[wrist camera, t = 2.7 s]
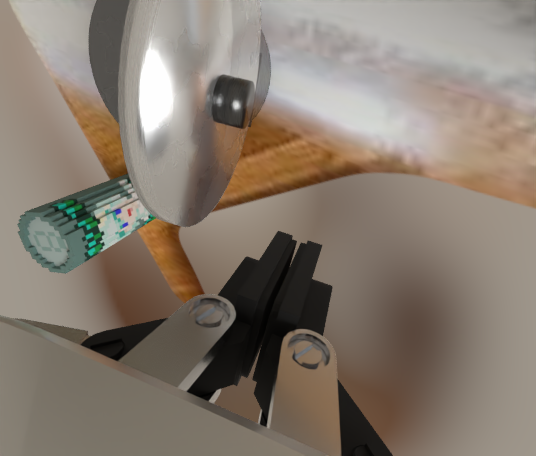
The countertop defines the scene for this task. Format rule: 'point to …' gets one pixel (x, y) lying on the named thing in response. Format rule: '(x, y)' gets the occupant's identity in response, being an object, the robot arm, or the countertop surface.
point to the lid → (186, 100)
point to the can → (82, 224)
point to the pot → (109, 47)
